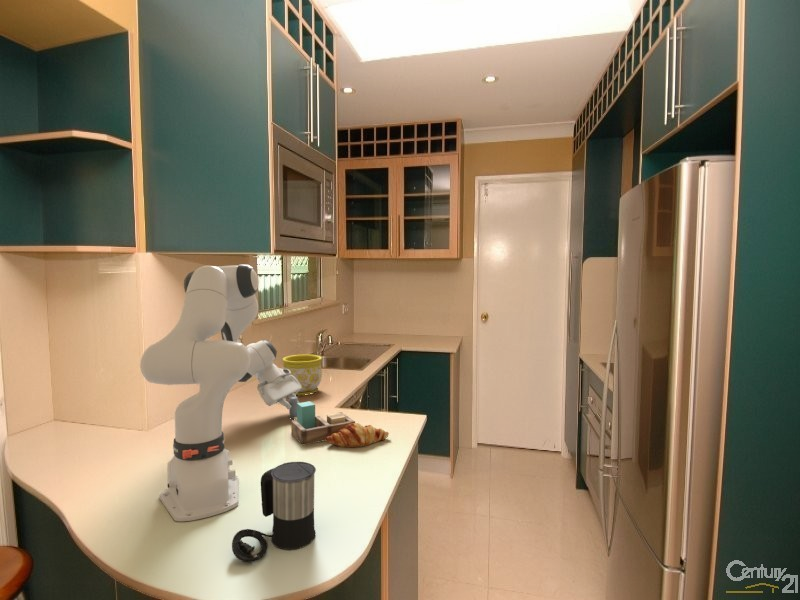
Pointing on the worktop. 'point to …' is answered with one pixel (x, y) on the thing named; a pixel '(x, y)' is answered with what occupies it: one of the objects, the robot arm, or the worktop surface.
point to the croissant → (357, 436)
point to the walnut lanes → (318, 430)
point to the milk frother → (283, 510)
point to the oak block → (335, 418)
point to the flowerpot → (305, 371)
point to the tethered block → (302, 413)
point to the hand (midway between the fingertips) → (294, 406)
